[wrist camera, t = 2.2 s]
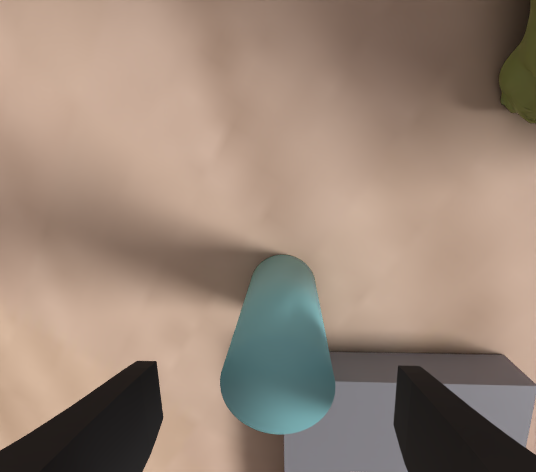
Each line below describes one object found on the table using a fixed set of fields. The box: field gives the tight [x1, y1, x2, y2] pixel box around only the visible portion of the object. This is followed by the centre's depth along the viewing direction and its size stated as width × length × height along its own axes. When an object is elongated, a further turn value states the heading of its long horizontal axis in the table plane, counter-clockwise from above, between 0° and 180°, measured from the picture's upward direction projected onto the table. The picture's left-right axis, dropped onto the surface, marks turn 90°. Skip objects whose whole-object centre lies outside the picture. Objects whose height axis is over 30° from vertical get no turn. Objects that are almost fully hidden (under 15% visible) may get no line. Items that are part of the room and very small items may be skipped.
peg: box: [220, 255, 335, 434], centre depth 14 cm, size 4×4×8 cm
